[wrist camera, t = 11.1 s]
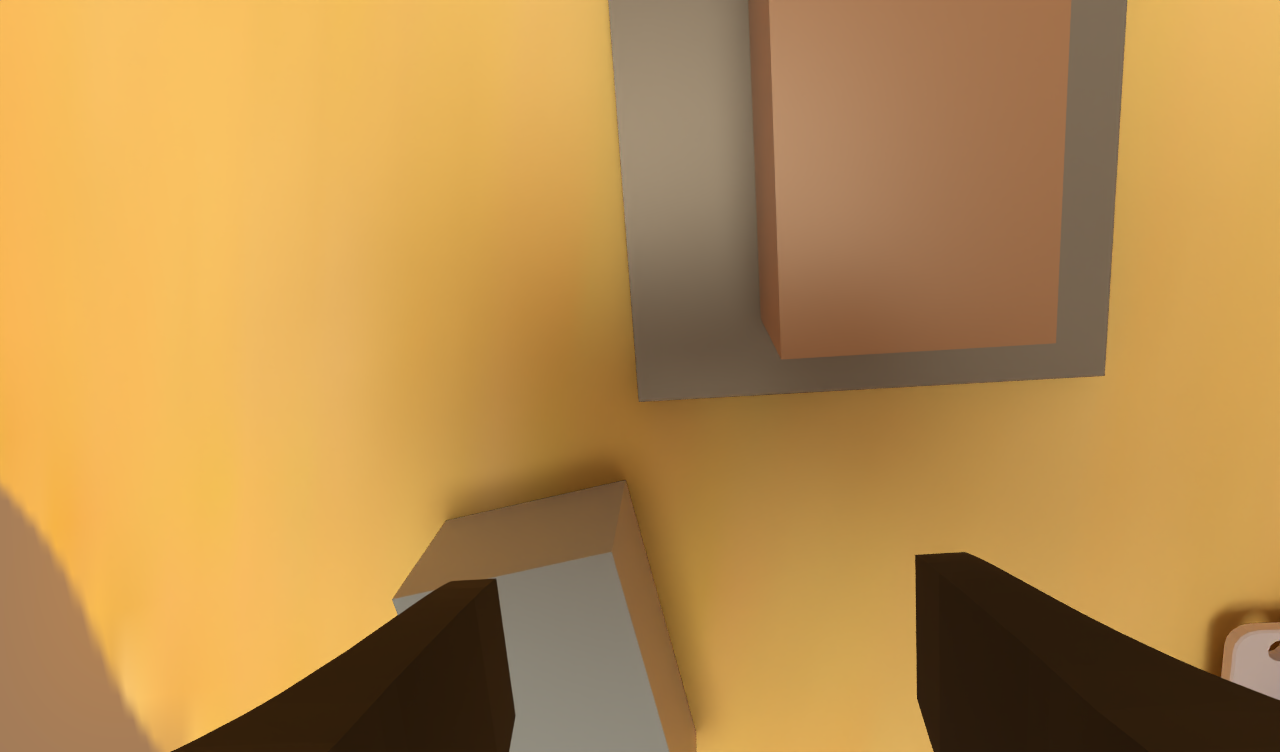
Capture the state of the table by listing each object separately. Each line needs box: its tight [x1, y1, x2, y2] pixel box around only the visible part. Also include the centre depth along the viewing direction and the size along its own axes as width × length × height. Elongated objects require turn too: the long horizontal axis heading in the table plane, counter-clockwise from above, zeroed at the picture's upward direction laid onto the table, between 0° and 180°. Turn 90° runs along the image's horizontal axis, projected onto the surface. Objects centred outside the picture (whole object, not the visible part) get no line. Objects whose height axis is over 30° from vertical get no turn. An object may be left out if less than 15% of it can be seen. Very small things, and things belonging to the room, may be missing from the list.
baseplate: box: [608, 0, 1127, 402], centre depth 17 cm, size 10×10×1 cm
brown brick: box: [748, 0, 1071, 359], centre depth 15 cm, size 4×7×4 cm, turn 4°
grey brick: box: [392, 480, 696, 752], centre depth 19 cm, size 4×7×4 cm, turn 15°
